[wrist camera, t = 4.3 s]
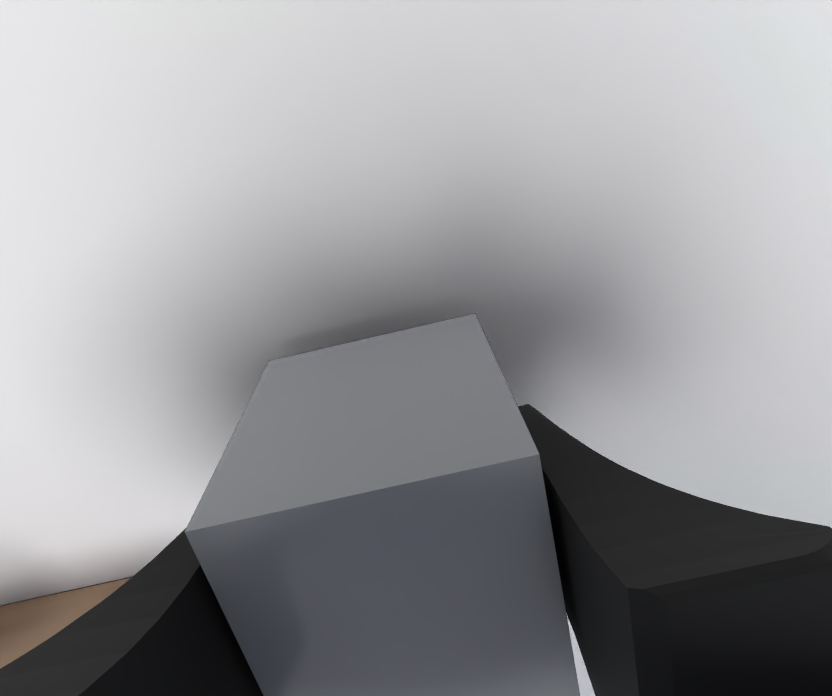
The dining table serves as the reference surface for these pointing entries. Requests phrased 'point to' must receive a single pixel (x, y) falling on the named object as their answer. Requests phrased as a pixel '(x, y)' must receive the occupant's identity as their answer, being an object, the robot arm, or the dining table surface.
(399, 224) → the dining table surface
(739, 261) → the dining table surface
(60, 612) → the frame
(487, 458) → the grey block
